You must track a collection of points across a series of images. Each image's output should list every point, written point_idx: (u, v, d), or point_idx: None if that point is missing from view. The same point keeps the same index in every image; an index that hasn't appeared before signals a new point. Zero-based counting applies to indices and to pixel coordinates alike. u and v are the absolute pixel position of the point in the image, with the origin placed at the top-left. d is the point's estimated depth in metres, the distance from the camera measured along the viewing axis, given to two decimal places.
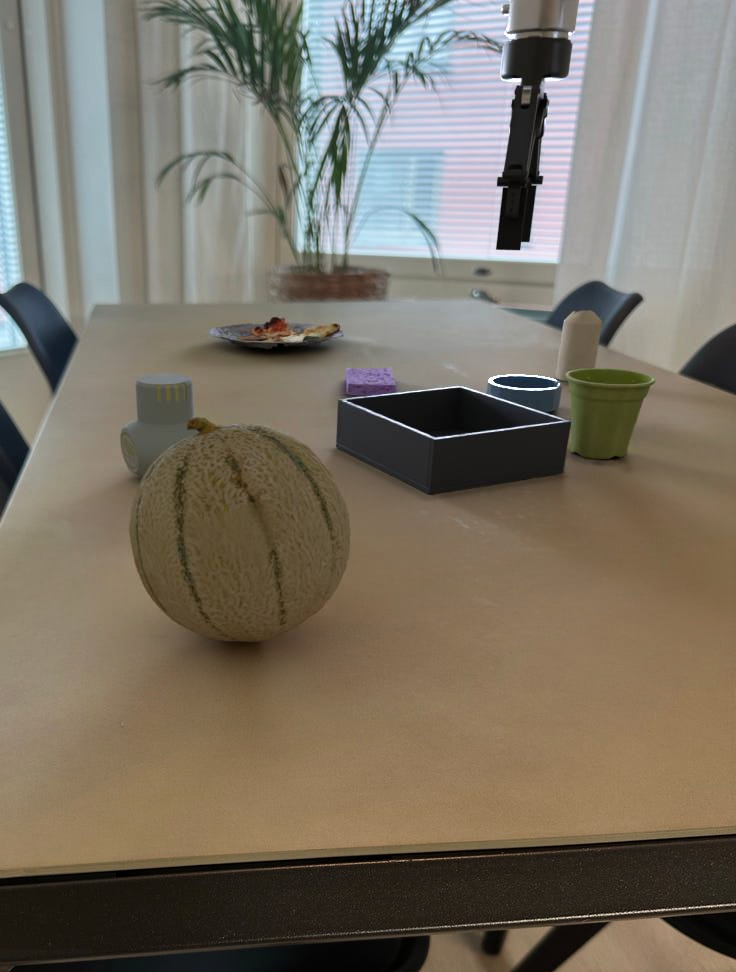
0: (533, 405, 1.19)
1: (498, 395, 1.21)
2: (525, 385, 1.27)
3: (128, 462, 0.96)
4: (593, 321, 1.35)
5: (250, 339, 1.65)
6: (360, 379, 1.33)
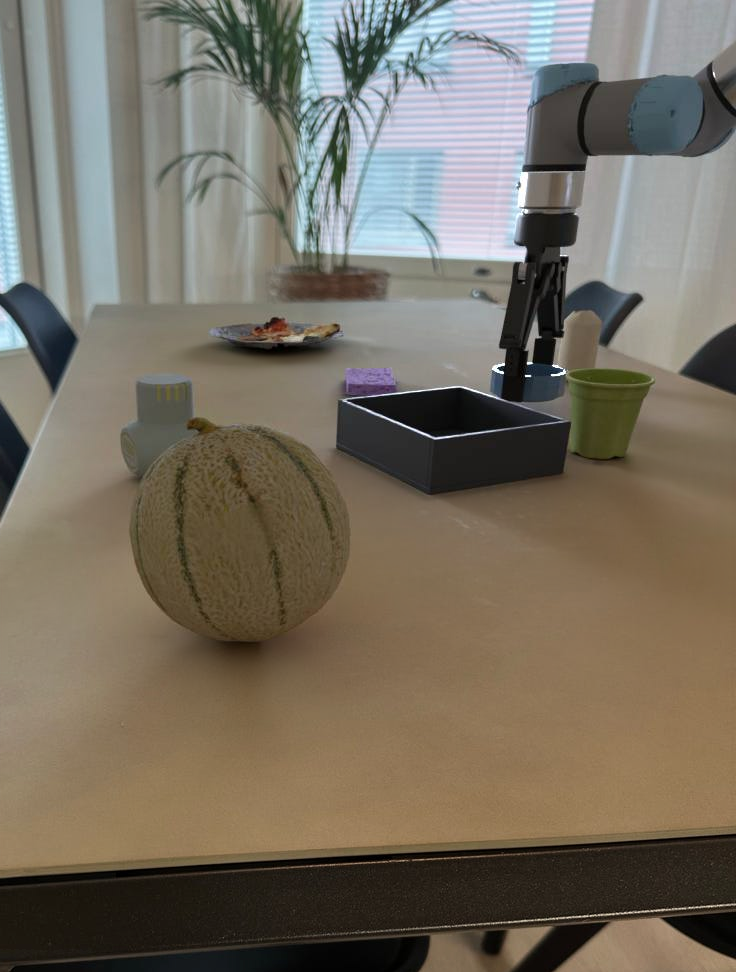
0: (538, 392, 1.18)
1: (502, 382, 1.19)
2: (529, 373, 1.26)
3: (128, 462, 0.96)
4: (593, 321, 1.35)
5: (250, 339, 1.65)
6: (360, 379, 1.33)
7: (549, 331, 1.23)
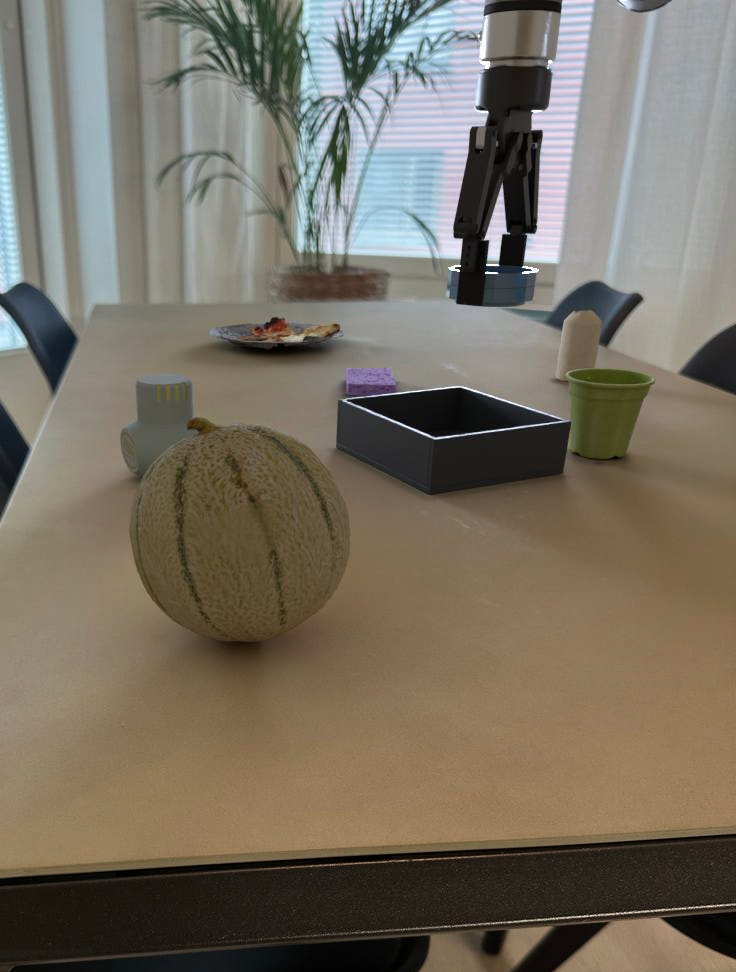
0: (500, 293, 0.98)
1: None
2: None
3: (128, 462, 0.96)
4: (593, 321, 1.35)
5: (250, 339, 1.65)
6: (360, 379, 1.33)
7: (519, 225, 1.03)
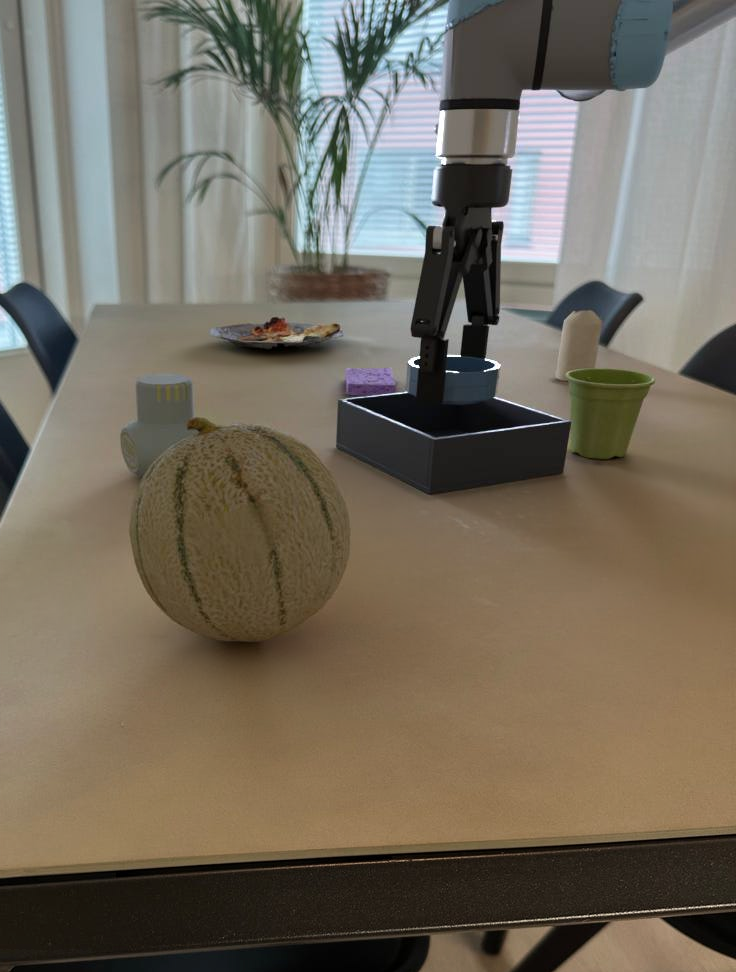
0: (461, 392, 0.94)
1: None
2: (457, 368, 1.01)
3: (128, 462, 0.96)
4: (593, 321, 1.35)
5: (250, 339, 1.65)
6: (360, 379, 1.33)
7: (480, 316, 0.99)
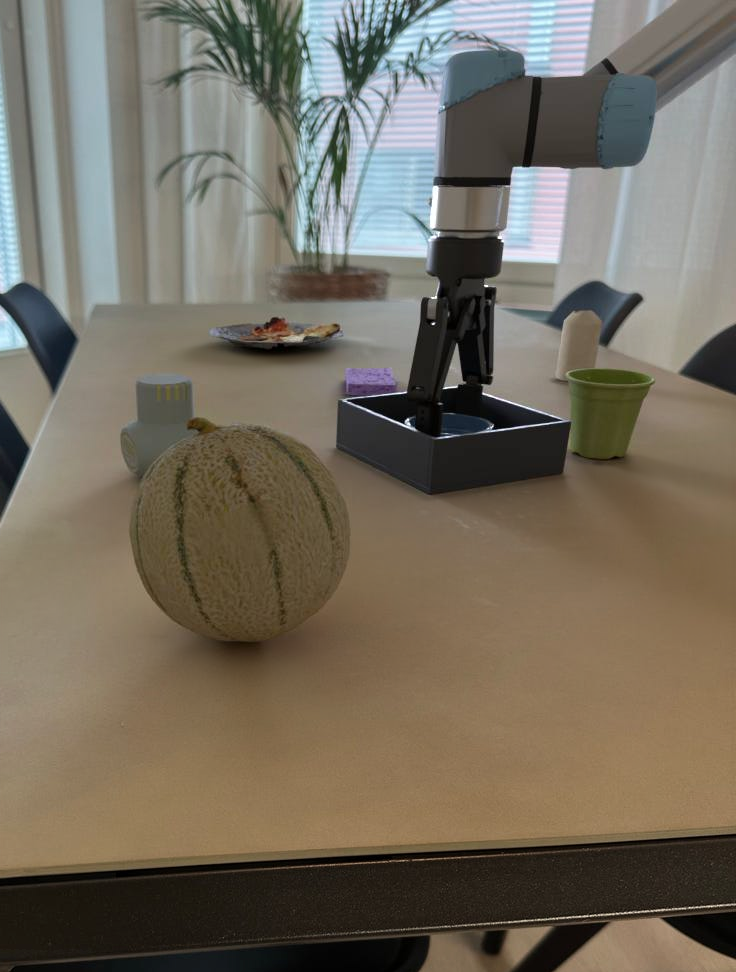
0: None
1: None
2: (452, 425, 1.04)
3: (128, 462, 0.96)
4: (593, 321, 1.35)
5: (250, 339, 1.65)
6: (360, 379, 1.33)
7: (475, 376, 1.02)
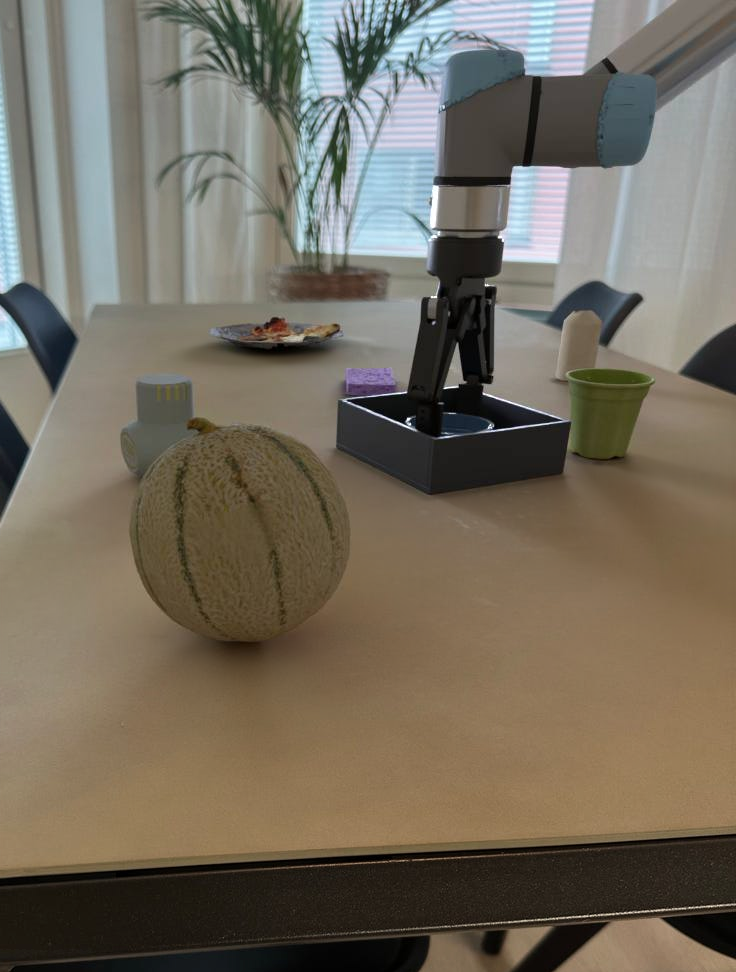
0: None
1: None
2: (452, 425, 1.04)
3: (128, 462, 0.96)
4: (593, 321, 1.35)
5: (250, 339, 1.65)
6: (360, 379, 1.33)
7: (475, 376, 1.02)
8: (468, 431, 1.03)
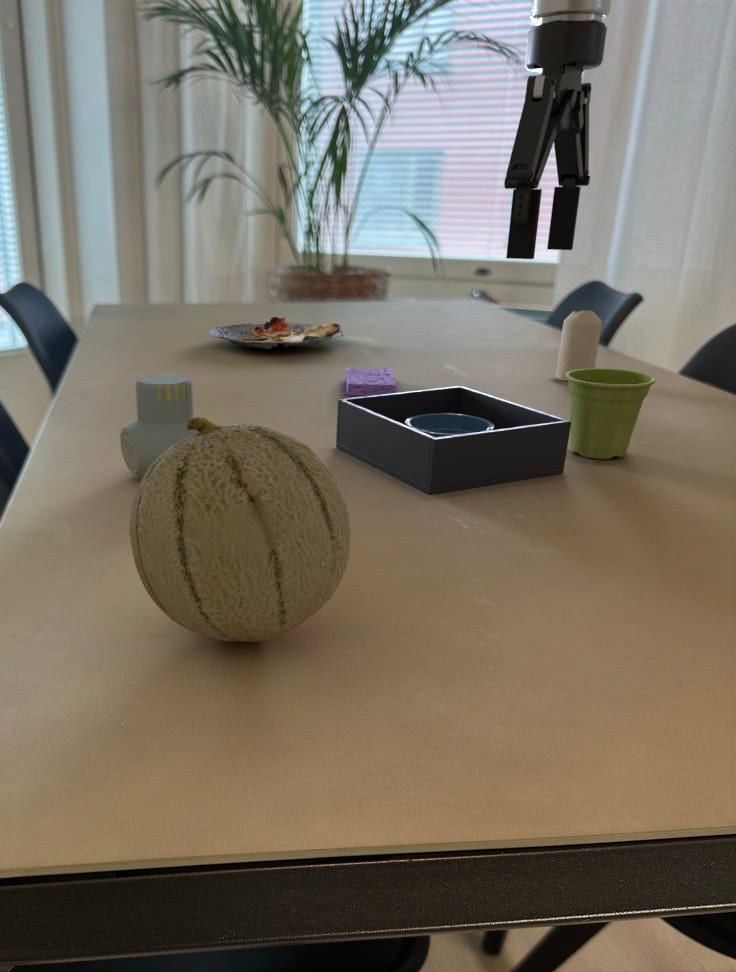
0: None
1: None
2: (452, 425, 1.04)
3: (128, 462, 0.96)
4: (593, 321, 1.35)
5: (250, 339, 1.65)
6: (360, 379, 1.33)
7: (572, 177, 1.02)
8: (468, 432, 1.03)
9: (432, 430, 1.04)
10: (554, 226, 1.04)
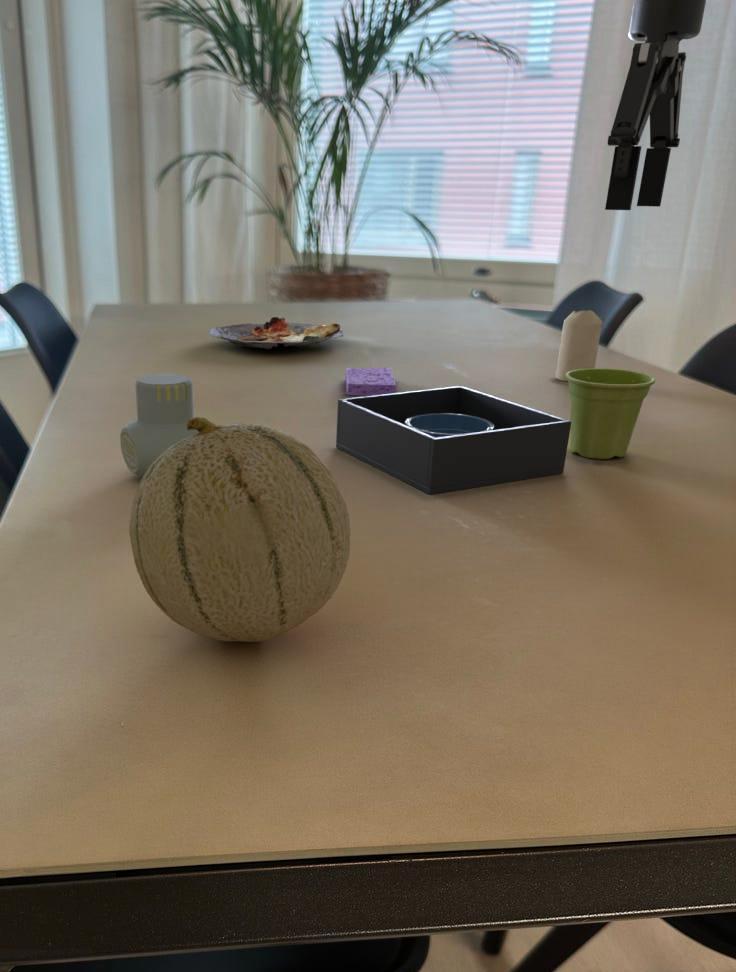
0: None
1: None
2: (452, 425, 1.04)
3: (128, 462, 0.96)
4: (593, 321, 1.35)
5: (250, 339, 1.65)
6: (360, 379, 1.33)
7: (663, 139, 1.12)
8: (468, 432, 1.03)
9: (432, 430, 1.04)
10: (644, 184, 1.15)
